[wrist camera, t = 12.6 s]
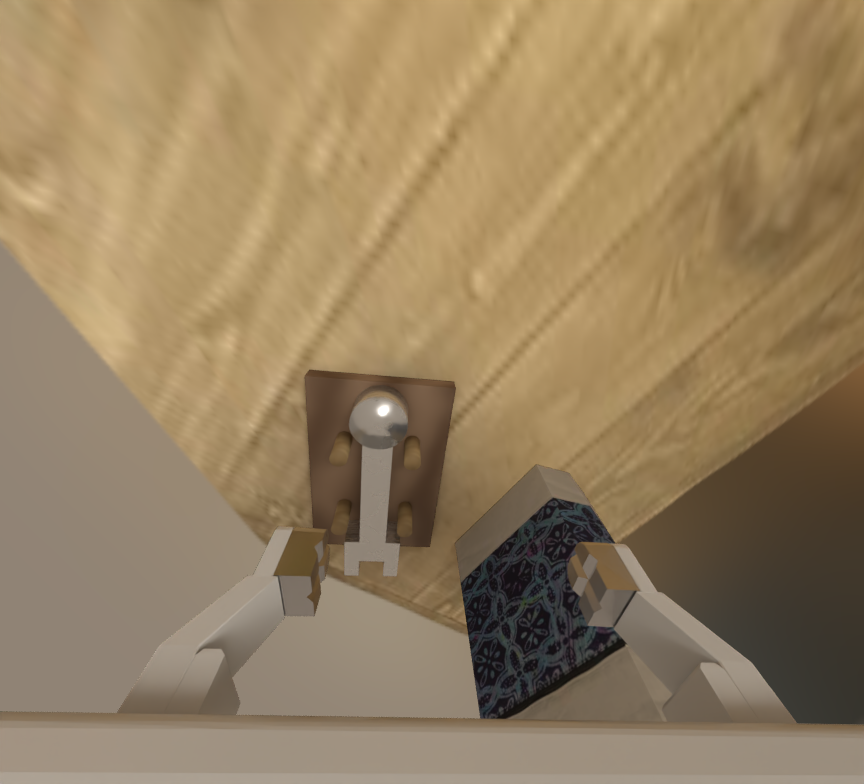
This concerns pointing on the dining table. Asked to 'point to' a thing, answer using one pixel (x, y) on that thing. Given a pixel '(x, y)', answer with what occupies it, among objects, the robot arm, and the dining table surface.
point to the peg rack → (342, 454)
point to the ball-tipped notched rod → (375, 478)
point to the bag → (545, 613)
